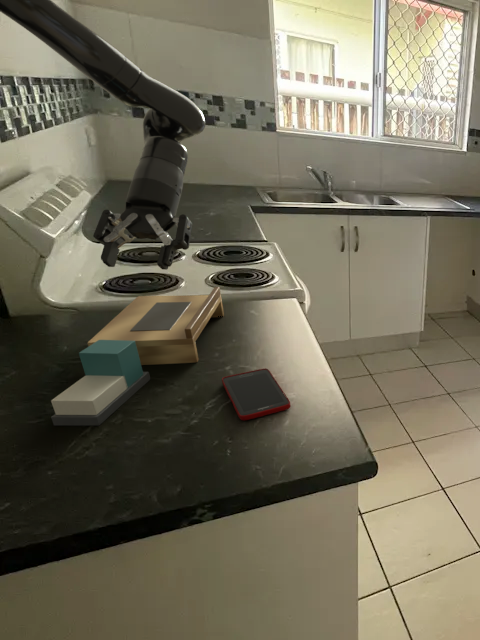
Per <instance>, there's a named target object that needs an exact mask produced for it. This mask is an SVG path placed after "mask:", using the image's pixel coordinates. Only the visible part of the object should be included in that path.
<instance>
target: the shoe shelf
mask: <svg viewBox="0 0 480 640" xmlns="http://www.w3.org/2000/svg"><path fill="white" fill-rule="evenodd" d="M218 316H219V317H218ZM220 316H221V317H220ZM222 316H223V317H224V316H225V311H224V306H223V300H222V294H221V287H220V286H214V287H213V289H212V290H211V291H210V293H209V294H208V295H207V294H205V295H204V294H203V295H201V294H200V295H199V294H198V295H196V294H195V295H138V296H137V297H136V298H134V299H133V300H132V301H131V302H130V303H129V304H128V305H127V306H125V307H124V308H123V310H121V311H120V312H119V313H118V314H117V315H116V316H114V317H113V319H111V321H109V322H108V323H107V324H105V326H104V327H103V328H101V330H99V331H98V332H97V333H96V334H95V335H94V336H93V337H92V338H91V339H90V340H88V341H87V347H89V346H90V345H92V344H93V343H95V342H96V341H98V340H128V341H135V343H136V347H137V351H138V355H139V359H140V363H141V366H154V365H155V366H156V365H174V364H190V363H191V364H193V363H194V364H195V363H198V362H199V360H200V358H199V354H198V349H197V344H196V343H197V342H196V341H197V340H198V338H199V337H200V335H201V334H202V332H203V331H204V329H205V327H206V326H207V324H208V323H209V321H210V319H211V318H223V317H222Z"/></svg>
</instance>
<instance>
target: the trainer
mask: <svg viewBox="0 0 480 640" xmlns="http://www.w3.org/2000/svg"><path fill="white" fill-rule="evenodd" d="M78 356H79V358H80V362H81V365H82V368H83V372H84V376H83V377H81V378H79V380H77V381H76V382H74V383H73V384H72V385H70V386H69V387H68V388H66V389H65V390H64V391H62V392H61V393H59V394H58V395H56V396H55V397H54V398H52V399H51V400H50V402H51V405H52V408H53V410H54V414H53V415H52V416H50V418H51V422H52V424H53V426H100V425H102V424H103V423H104V422H105V421H106V420H107V419H108V418H110V416H112V415H113V413H115V412H116V411H118V409H119V408H120V407H122V406H123V405H124V404H125V403H126V402H127V401H128V400H130V399H131V397H133V396H134V395H135V394H136V393H138V391H139V390H141V389H142V388H143V387H144V386H145V385H146V384H147V383H148V382H150V380H151V376H150V372H149V371H144V370H143V367H142V366H143V365H141V363H140V359H139V355H138V351H137V347H136V343H135V341H128V340H98V341H96V342H95V343H93V344H92V345H90V346H87V347H86V348H84V349H82V350H81V351H80V352H78Z"/></svg>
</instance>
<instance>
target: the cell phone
mask: <svg viewBox="0 0 480 640" xmlns="http://www.w3.org/2000/svg"><path fill="white" fill-rule="evenodd" d="M221 382H222V386H223V388H224V389H225V392H226V394H227V396H228V398H229V400H230V402H231V403H232V406H233V408H234V410H235V413H236V415H237V416H238V418H239V419H240V421H249V420H253V419H256V418H260V417H264V416H267V415H272V414H276V413H279V412H283V411H287V410H288V409H290V408H291V407H292V406H291V401H290V399H289V397H288V396H287V394H286V393H285V391H284V390H283V388H282V387H281V386H280V384H279V383H278V381H277V380H276V378H275V377H274V375H273V374H272V372H271V371H270V369H268V368H259V369H254V370H250V371H245V372H239V373H236V374H235V373H234V374H231V375H227V376H224V377H222V378H221Z"/></svg>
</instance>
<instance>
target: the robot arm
mask: <svg viewBox="0 0 480 640" xmlns="http://www.w3.org/2000/svg"><path fill="white" fill-rule="evenodd" d="M0 13H2V14H3V15H5V16H6V17H8V18H9V19H10V20H12V21H14V22H15V23H16V24H18V25H19V26H20V27H22V28H24V29H25V30H26V31H28V33H30V34H31V35H33V36H35V37H36V38H37V39H39V40H40V41H41V42H43V43H44V44H45V45H46V46H48V47H49V48H50V49H52V50H53V51H54V52H55V53H57V54H58V55H59V56H60V57H61V58H63V59H64V60H66V62H68V63H69V64H71V65H72V66H73V67H75V68H76V70H78V71H79V72H80V73H82V74H83V75H84V76H85V77H87V78H88V79H89V80H91V81H92V82H94V83H95V84H96V85H97V86H99V87H100V88H101V89H103V90H104V91H105V92H107V93H108V94H109V95H111V96H112V97H113V98H115V99H116V100H117V101H119V102H120V103H122V104H124V106H128V107H130V108H143V107H144V108H148V110H147V111H146V113H145V115H144V117H143V120H142V132H143V133H142V135H143V148H142V151H141V154H140V156H139V157H140V158H139V161H138V163H137V164H136V165H137V166H136V167H135V169H134V172H133V175H132V177H131V182H130V185H129V188H128V191H127V195H126V197H125V209H124V210H123V211H122V212H121V213H115V212H112V211H111V210H110V209H104V210H103V211H102V212H101V215H100V217H99V220H98V221H97V222H98V223H97V225H96V227H95V230H94V232H93V235H92V236H93V239H95V240H96V241H98V242H99V244H101V245H102V246H103V247H102V251H101V254H100V260H101V262H102V263H103V264H104V265H105V266H107V267H109V268H115V267H116V263H117V260H118V257H119V253H120V248H122V246H123V245H126V243H131V242H132V241H135V239H137V240H143V239H149V240H155V241H156V240H157V239H160V241H161V242H162V244H163V245H161V246H160V250H159V254H158V257H157V262H156V264H157V266H158V267H159V268H160V269H161V270H167V271H168V270H169V268H170V267H171V266H172V265H173V262H174V258H175V253H176V252H177V251H178V250H185V251H186V250H189V248H190V242H191V236H192V230H193V222H192V221H191V220H190V219H189V217H188V216H187V215H186V214H183V213H182V214H180V215H179V216H177V212H178V208H179V204H180V200H181V197H182V194H183V188H184V177H185V175H186V170H187V165H188V160H189V154H188V151H187V148H186V147H185V146H184V145H183V144H182V143H181V142H182V141H185V140H187V139H190V138H193V137H195V136H199V135H200V134H201V133H202V132H203V131H204V130H205V128H206V120H205V116H204V114H203V112H202V111H201V109H200V108H199V107H198V105H197V104H195V102H194V101H193V100H191V99H190V98H189V97H187V95H184V94H183V93H181V92H180V91H177V90H175V89H174V88H173V87H170V86H169V85H167V84H165V83H163V82H162V81H160V80H159V79H156V78H155V77H152V76H151V75H149V74H147V72H145V71H144V70H142V69H141V68H140V67H139V66H138V65H136V64H135V62H133V61H132V60H131V59H130V58H128V57H127V56H126V55H125V54H123V53H122V52H121V51H120V50H119V49H117V48H116V47H115V46H114V45H112V44H111V43H110V42H108V41H107V40H106V39H104V38H103V37H102V36H100V35H99V34H97V33H96V32H95V31H93V30H92V29H91V28H90V27H88V26H86V25H85V24H84V23H82V22H81V21H79V20H78V19H76V18H75V17H73V16H72V15H71V14H69V12H66V11H65V10H64V9H63V8H61V6H59V5H58V4H57V3H56V2H54V1H53V0H0ZM173 227H176V234H175V238H174V239H172V237H171V235H170V234H169V233H168V232H169V231H170V230H171V229H172V228H173ZM125 231H127V232H128V233H125Z"/></svg>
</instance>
